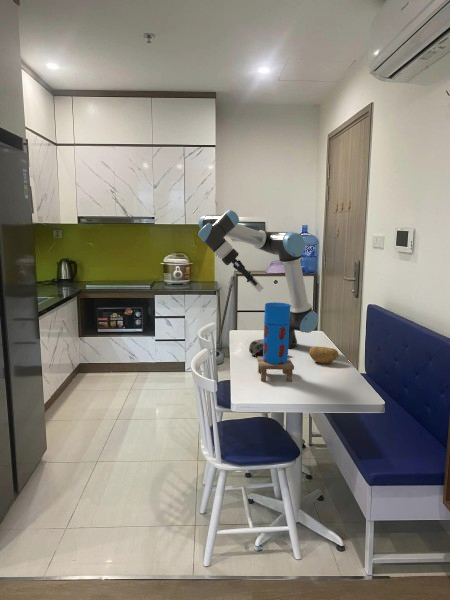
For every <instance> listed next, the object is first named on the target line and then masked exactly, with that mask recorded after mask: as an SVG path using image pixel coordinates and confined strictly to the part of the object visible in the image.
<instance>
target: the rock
mask: <svg viewBox="0 0 450 600" xmlns="http://www.w3.org/2000/svg"><path fill="white" fill-rule="evenodd" d="M263 342H264V338H263V339H262V338H261V339H255V340H253V341H251V342H250V345H249V347H248V351H249V353H250V354H251V355H254V357H256V358H257V356H263Z"/></svg>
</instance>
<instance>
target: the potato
mask: <svg viewBox="0 0 450 600" xmlns="http://www.w3.org/2000/svg"><path fill="white" fill-rule="evenodd" d="M308 352H309V353H308V354H309V357H310V358H311V359H312V360H313V361H314V362H316V363H318V364H322V365H323V364H328V363H329V364H330V363H331V362H334V361H335V360H336V359H338V357H339V351H338V350H337V349H336V348H333V347H326V346H318V345H317V346H311V347H310V348H309V350H308Z"/></svg>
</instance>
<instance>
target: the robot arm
mask: <svg viewBox="0 0 450 600" xmlns="http://www.w3.org/2000/svg"><path fill="white" fill-rule="evenodd" d="M239 223H240V218H239V216H238V214H237V213H236V212H235V211H234V210H232V209H227V210H226V211H224V213H222V214H205V215H202V216H201V217H199V220H198V227H199V229H200V230H199V231H198V233H197V235H198V237H199V238H200V240H201V241H202V242H203V243H204V244H205V245H206V246H208V248H209V249H210V250H211V251H212V252H213V253H214V256H215V257H218V258H219V259H221V262H222V263H224V265H225V266H228V265H229V266H230V264H232V267H233V268H234V269H235V270H236V271H237V272H238V273H241V275H243V276H244V278H246V282H247V283H250V284H251V285H252V286H253V287H254V288H255V289H256V291H258V293H261V292H262V290H263V289H264V286H263V285H262V284H261V283H260V282H259V281H258V280H257V279H256V278H255V277H254V276H253V275H252V272H251V271H248V270H247V269H246V266H245V265H244V264H243V262H242V261H241V260H239V259H237V258H238V256H239V252H238V251H237V250H236V249H235V248H233V245H231V244H230V243H229V242H228V240H226V239H225V237H227V238H230V239H232V240H237V241H239V242H242V243H245V244H248V245H252V246H254V248H255V249H258V250H261V251H263V252H266V253H269V254H270V255H271V254H272V255H276V256H277V255H278V259H279V262H280V263H282V264H283V268H284V275H285V279H286V284H287V289H288V294H289V299H290V303H288V304H289V305H290V323H289V344H288V349H293V348H296V347H297V346H298V340H297V337H296V331H298V332H301V333H306V334H308V333H312V332H313V331H315V329H316V327H317V326H318V323H319V315H318V313H317V312H315V311H313V307H312V305H311V304H310V303H309V302H308V297H307V292H306V291H307V290H306V285H305V280H304V274H303V269H302V264H301V260H302V258H303V254H304V253H305V249H306V241H305V239H304V237H303V236H302V235H301V234H300V233H298V232H295V231H294V232H293V231H267V230H262V229H260V230H256V229H254V228H250V227H247V226H245V225H242V224H239Z"/></svg>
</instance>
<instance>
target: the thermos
mask: <svg viewBox="0 0 450 600" xmlns="http://www.w3.org/2000/svg"><path fill="white" fill-rule="evenodd" d="M289 304H290V303H285V302H275V301H274V302H266V303H265V305H264V316H263V317H264V319H263V322H264V324H263V325H264V327H263V339H264V342H263V361H264V362H265V363H268V364H275V365H280V364H285V363H287V358H288V357H289V348H288V344H289V323H290V305H289Z"/></svg>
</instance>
